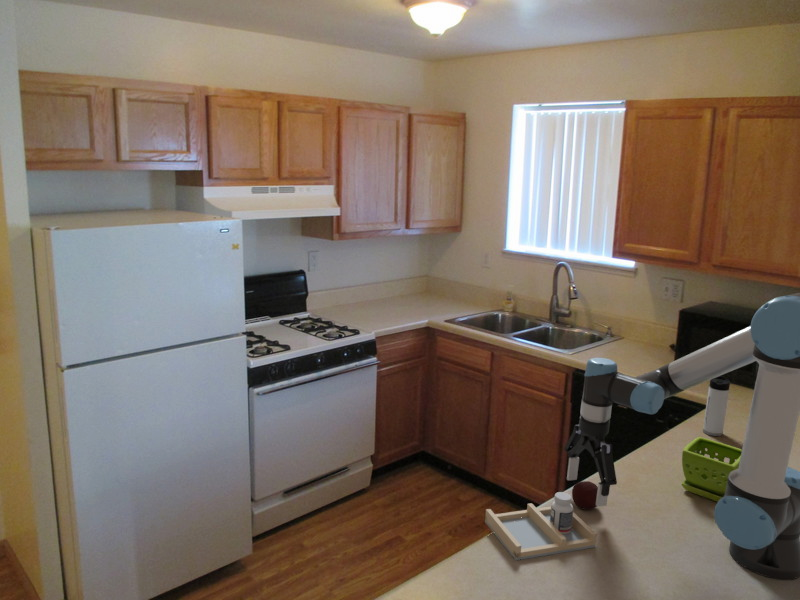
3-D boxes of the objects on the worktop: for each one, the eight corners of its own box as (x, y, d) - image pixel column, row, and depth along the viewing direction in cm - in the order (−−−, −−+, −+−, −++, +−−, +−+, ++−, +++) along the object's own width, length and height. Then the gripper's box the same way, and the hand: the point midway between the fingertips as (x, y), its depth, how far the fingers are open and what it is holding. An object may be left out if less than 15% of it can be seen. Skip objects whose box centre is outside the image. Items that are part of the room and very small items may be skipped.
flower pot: (675, 490, 178) (680, 449, 176) (692, 475, 188) (697, 435, 186) (728, 509, 169) (735, 466, 166) (743, 492, 179) (749, 450, 177)
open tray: (595, 547, 150) (596, 533, 149) (515, 560, 143) (516, 546, 143) (558, 511, 165) (559, 499, 164) (485, 522, 159) (485, 509, 158)
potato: (565, 502, 169) (567, 478, 168) (588, 498, 173) (590, 474, 171) (583, 516, 163) (585, 491, 161) (606, 511, 166) (609, 486, 164)
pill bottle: (574, 528, 156) (578, 495, 154) (565, 537, 152) (568, 503, 150) (555, 520, 159) (558, 488, 158) (545, 528, 155) (548, 496, 154)
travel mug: (723, 431, 222) (731, 377, 218) (721, 438, 216) (729, 382, 212) (704, 427, 225) (711, 374, 221) (701, 433, 220) (709, 379, 216)
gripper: (638, 436, 152) (627, 515, 157) (580, 398, 175) (572, 468, 180) (612, 439, 150) (601, 519, 154) (556, 400, 173) (549, 471, 178)
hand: (585, 492), depth 167 cm, fingers open, 13 cm apart
